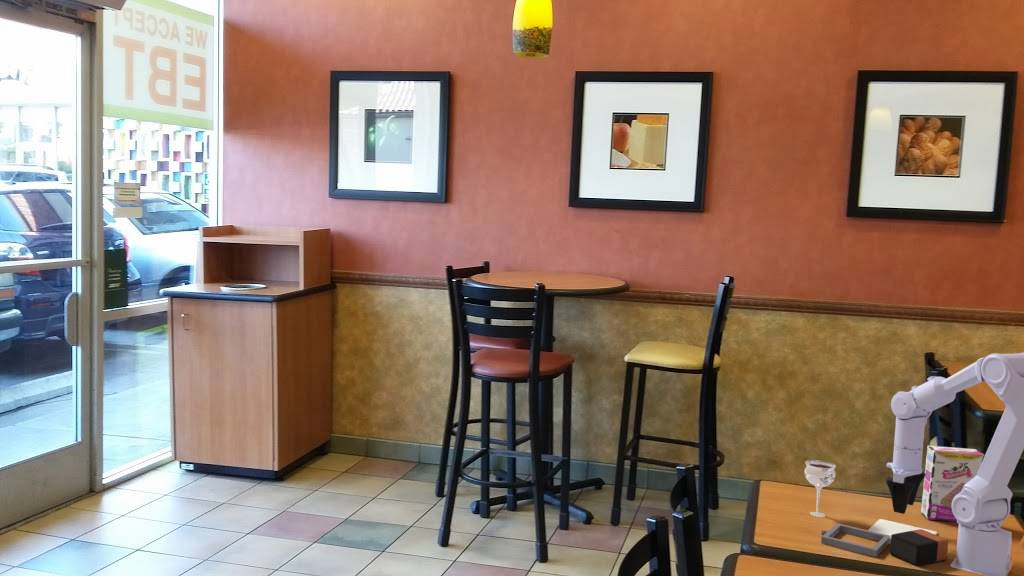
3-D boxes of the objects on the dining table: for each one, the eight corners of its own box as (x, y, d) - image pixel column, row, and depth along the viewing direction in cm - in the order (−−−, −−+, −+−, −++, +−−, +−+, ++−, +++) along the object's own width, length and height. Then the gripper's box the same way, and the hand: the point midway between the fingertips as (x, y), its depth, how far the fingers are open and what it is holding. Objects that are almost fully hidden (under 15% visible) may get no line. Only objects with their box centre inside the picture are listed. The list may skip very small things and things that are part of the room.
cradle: (890, 542, 187) (890, 535, 187) (876, 557, 178) (876, 550, 178) (830, 528, 194) (830, 521, 194) (813, 541, 185) (814, 534, 185)
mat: (937, 533, 194) (937, 531, 194) (924, 548, 184) (924, 546, 184) (879, 520, 201) (879, 518, 201) (865, 534, 191) (865, 532, 191)
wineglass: (799, 517, 201) (803, 465, 200) (802, 508, 207) (806, 458, 206) (831, 522, 198) (835, 470, 197) (833, 513, 204) (837, 462, 203)
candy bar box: (927, 520, 202) (933, 450, 201) (920, 513, 207) (925, 444, 206) (979, 524, 201) (985, 453, 200) (969, 517, 206) (975, 448, 205)
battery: (888, 554, 180) (921, 547, 184) (917, 566, 174) (950, 559, 178) (890, 533, 180) (923, 527, 184) (918, 545, 174) (952, 538, 178)
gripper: (897, 437, 199) (892, 496, 200) (880, 449, 187) (875, 512, 188) (931, 443, 195) (926, 503, 196) (915, 455, 183) (910, 519, 184)
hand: (903, 508), depth 192 cm, fingers open, 7 cm apart
